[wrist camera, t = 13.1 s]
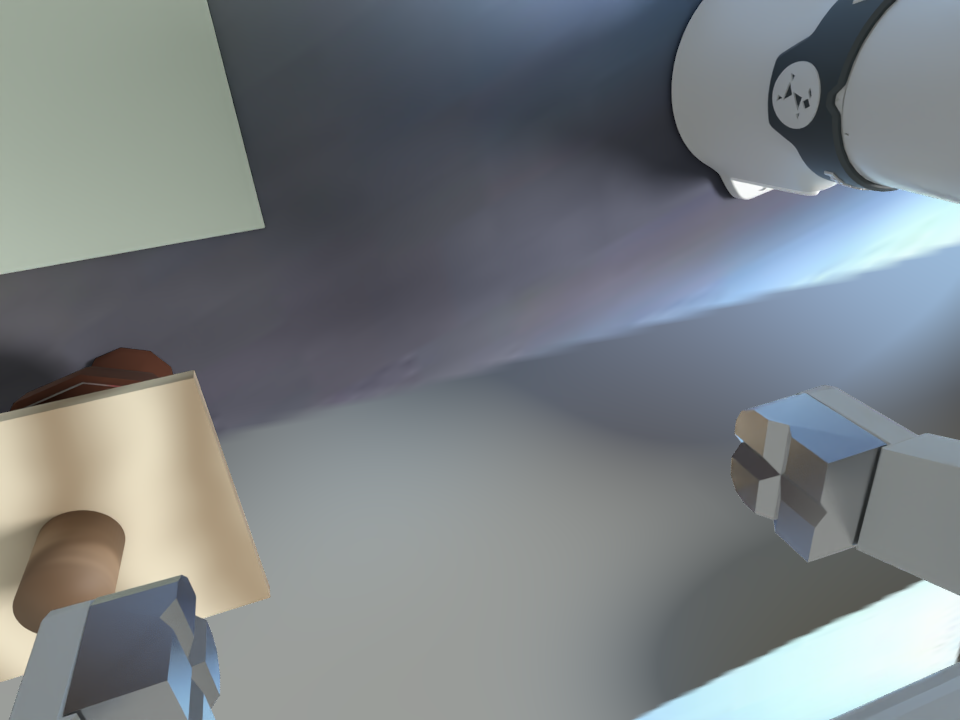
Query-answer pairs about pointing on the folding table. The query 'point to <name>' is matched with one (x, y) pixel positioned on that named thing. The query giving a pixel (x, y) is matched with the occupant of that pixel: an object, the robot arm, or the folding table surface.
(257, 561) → the lid
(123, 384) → the ice cream bowl
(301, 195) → the folding table surface
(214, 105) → the lid mat
